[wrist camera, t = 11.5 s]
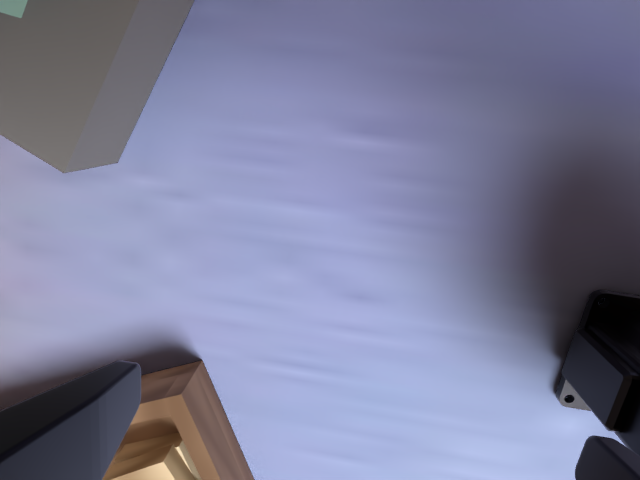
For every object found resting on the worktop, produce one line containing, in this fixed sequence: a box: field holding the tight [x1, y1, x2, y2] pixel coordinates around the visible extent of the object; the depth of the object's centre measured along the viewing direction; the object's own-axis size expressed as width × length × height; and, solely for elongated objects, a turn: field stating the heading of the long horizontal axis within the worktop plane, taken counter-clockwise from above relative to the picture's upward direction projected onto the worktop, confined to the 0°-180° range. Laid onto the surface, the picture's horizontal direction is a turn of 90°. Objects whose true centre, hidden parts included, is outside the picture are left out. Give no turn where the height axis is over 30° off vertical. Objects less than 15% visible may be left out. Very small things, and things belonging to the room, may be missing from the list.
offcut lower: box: [114, 433, 201, 480], centre depth 24 cm, size 4×4×1 cm
